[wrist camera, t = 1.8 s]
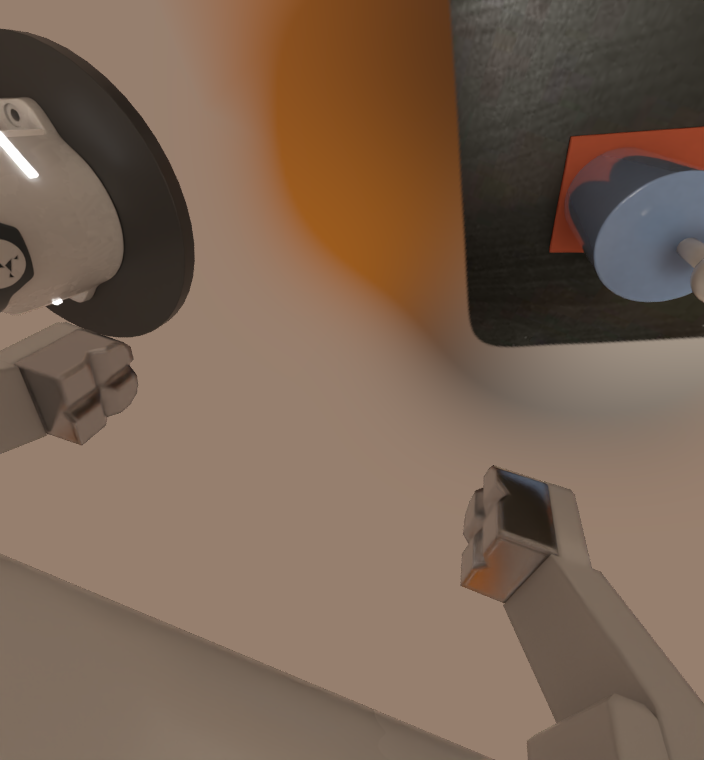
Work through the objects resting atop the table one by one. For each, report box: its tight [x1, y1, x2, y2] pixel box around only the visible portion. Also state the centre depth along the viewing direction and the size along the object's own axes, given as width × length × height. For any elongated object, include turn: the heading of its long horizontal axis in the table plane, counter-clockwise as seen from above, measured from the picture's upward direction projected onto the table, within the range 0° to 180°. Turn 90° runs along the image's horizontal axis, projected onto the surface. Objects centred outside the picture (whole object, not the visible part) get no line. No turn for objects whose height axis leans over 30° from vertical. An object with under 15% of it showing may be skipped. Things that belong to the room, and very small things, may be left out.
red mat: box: [549, 127, 704, 252], centre depth 24 cm, size 13×7×1 cm, turn 95°
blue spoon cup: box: [564, 147, 704, 302], centre depth 19 cm, size 5×5×15 cm
